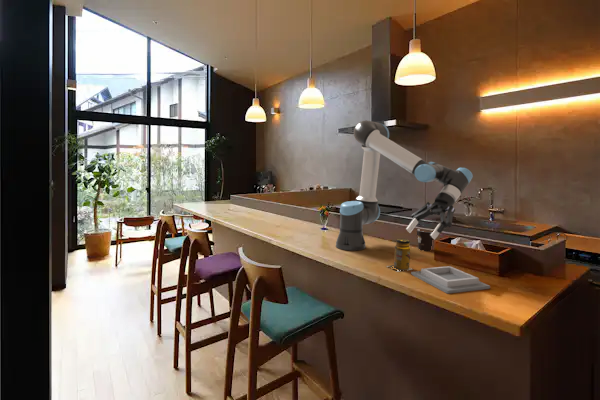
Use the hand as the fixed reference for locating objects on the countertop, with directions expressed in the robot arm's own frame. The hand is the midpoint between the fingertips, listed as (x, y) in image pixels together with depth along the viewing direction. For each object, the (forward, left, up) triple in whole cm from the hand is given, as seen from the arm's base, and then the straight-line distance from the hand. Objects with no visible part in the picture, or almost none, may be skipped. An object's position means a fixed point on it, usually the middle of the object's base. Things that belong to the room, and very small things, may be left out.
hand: (419, 234), depth 140 cm
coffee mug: (-24, +22, -14) cm, 35 cm away
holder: (+19, 0, -14) cm, 23 cm away
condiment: (+1, -9, -14) cm, 17 cm away
